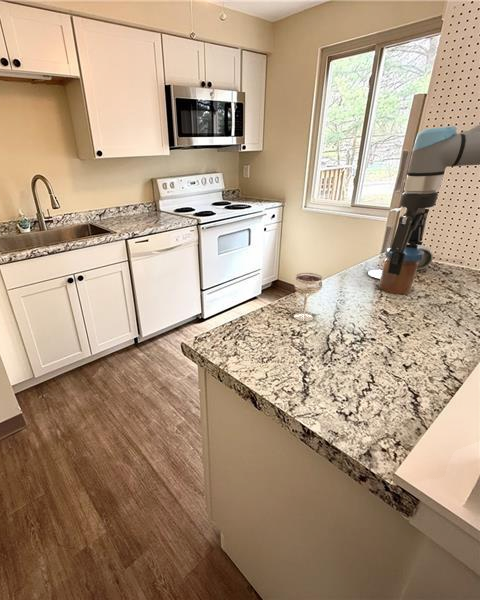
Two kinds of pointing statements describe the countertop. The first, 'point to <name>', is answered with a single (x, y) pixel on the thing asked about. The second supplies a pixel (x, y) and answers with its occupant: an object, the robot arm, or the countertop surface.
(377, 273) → the coaster
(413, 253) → the jar lid
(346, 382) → the countertop surface
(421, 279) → the countertop surface
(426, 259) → the ceramic mug
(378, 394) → the countertop surface
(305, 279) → the wineglass
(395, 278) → the jam jar
